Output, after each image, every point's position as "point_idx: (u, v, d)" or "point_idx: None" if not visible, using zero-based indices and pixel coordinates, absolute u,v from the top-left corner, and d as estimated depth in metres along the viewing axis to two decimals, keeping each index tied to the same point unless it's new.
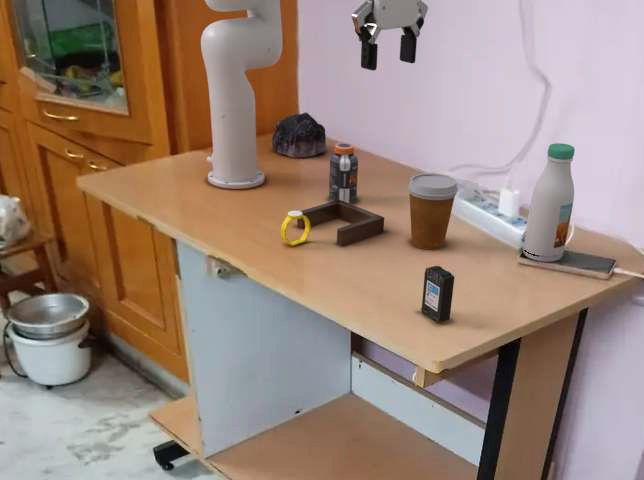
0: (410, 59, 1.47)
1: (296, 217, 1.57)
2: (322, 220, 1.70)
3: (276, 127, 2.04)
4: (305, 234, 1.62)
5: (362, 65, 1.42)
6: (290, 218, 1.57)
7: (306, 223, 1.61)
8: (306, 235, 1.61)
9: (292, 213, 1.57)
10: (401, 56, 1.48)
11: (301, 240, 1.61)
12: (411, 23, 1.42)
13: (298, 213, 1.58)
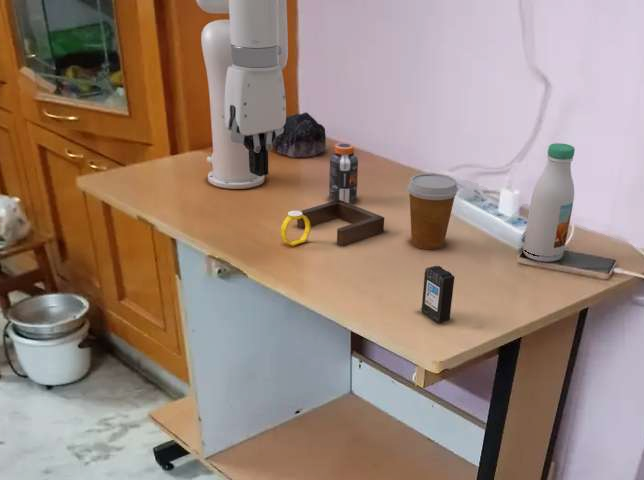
0: (263, 171, 1.46)
1: (296, 217, 1.57)
2: (322, 220, 1.70)
3: None
4: (305, 234, 1.62)
5: (251, 170, 1.47)
6: (290, 218, 1.57)
7: (306, 223, 1.61)
8: (306, 235, 1.61)
9: (292, 213, 1.57)
10: None
11: (301, 240, 1.61)
12: (278, 127, 1.43)
13: (298, 213, 1.58)
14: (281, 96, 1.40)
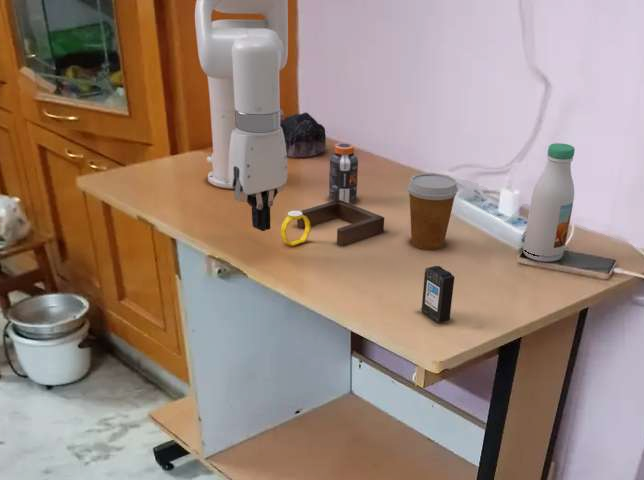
0: (265, 226, 1.52)
1: (296, 217, 1.57)
2: (322, 220, 1.70)
3: None
4: (305, 234, 1.62)
5: (253, 225, 1.53)
6: (290, 218, 1.57)
7: (306, 223, 1.61)
8: (306, 235, 1.61)
9: (292, 213, 1.57)
10: None
11: (301, 240, 1.61)
12: (280, 185, 1.49)
13: (298, 213, 1.58)
14: (283, 156, 1.46)
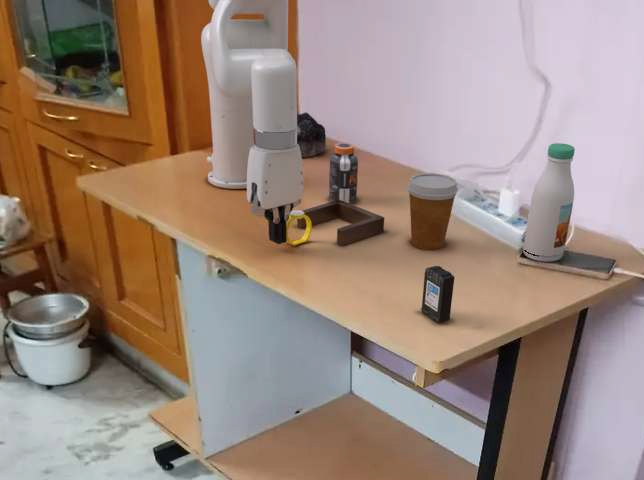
0: (282, 239, 1.57)
1: (298, 217, 1.57)
2: (322, 220, 1.70)
3: None
4: (306, 233, 1.62)
5: (270, 238, 1.58)
6: (292, 217, 1.57)
7: (307, 223, 1.61)
8: (307, 235, 1.62)
9: (294, 213, 1.58)
10: None
11: (302, 240, 1.62)
12: (296, 199, 1.53)
13: (300, 212, 1.58)
14: (299, 172, 1.51)
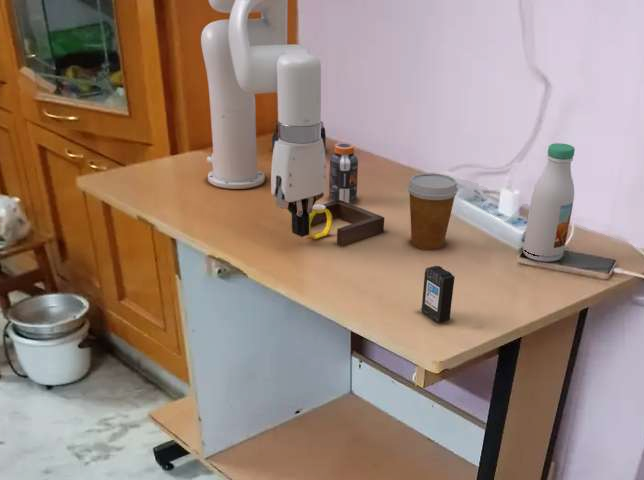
0: (304, 232, 1.59)
1: (320, 211, 1.60)
2: (322, 220, 1.70)
3: (276, 127, 2.04)
4: (327, 227, 1.65)
5: (293, 231, 1.60)
6: (314, 211, 1.60)
7: (328, 216, 1.64)
8: (328, 228, 1.65)
9: (315, 207, 1.61)
10: None
11: (323, 233, 1.65)
12: (319, 193, 1.56)
13: (322, 206, 1.61)
14: (322, 166, 1.54)
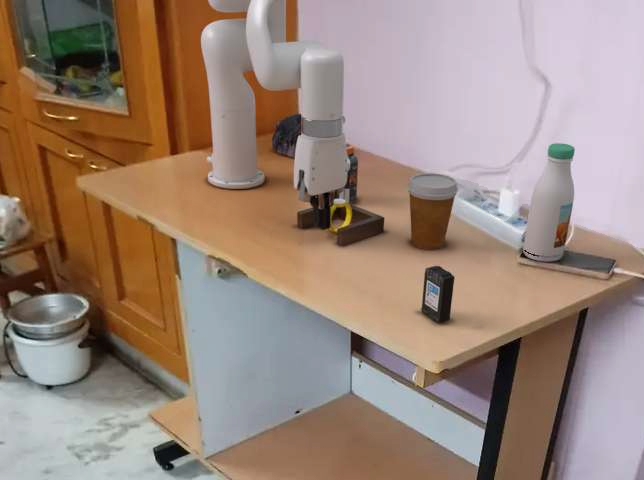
0: (326, 225, 1.62)
1: (341, 205, 1.63)
2: None
3: (276, 127, 2.04)
4: (347, 221, 1.68)
5: (314, 224, 1.63)
6: (334, 205, 1.63)
7: (348, 210, 1.67)
8: (348, 222, 1.68)
9: (336, 201, 1.64)
10: None
11: None
12: (340, 186, 1.59)
13: (342, 201, 1.64)
14: (344, 160, 1.57)
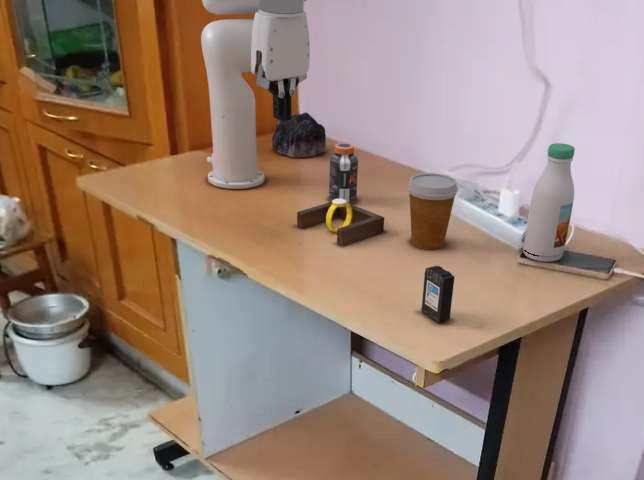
0: (286, 116, 1.51)
1: (341, 205, 1.63)
2: (322, 220, 1.70)
3: (276, 127, 2.04)
4: (347, 221, 1.68)
5: (274, 115, 1.52)
6: (335, 205, 1.63)
7: (348, 210, 1.67)
8: (348, 222, 1.68)
9: (336, 201, 1.64)
10: None
11: None
12: (302, 73, 1.48)
13: (342, 200, 1.64)
14: (305, 42, 1.45)
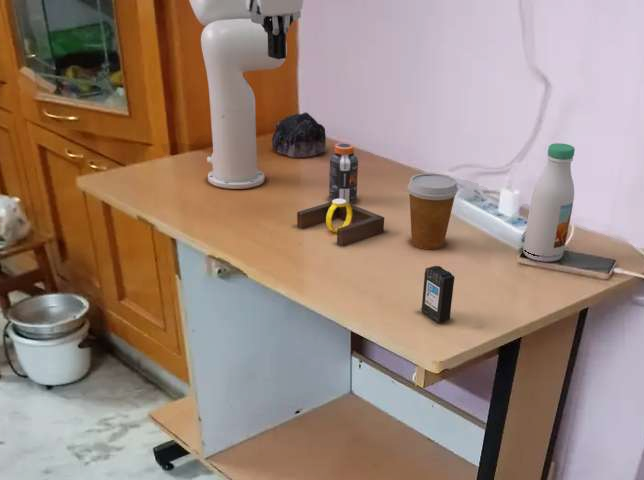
0: (281, 54, 1.54)
1: (341, 205, 1.63)
2: (322, 220, 1.70)
3: (276, 127, 2.04)
4: (347, 221, 1.68)
5: (269, 54, 1.55)
6: (335, 205, 1.63)
7: (348, 210, 1.67)
8: (348, 222, 1.68)
9: (336, 201, 1.64)
10: None
11: None
12: (296, 10, 1.51)
13: (342, 200, 1.64)
14: None
